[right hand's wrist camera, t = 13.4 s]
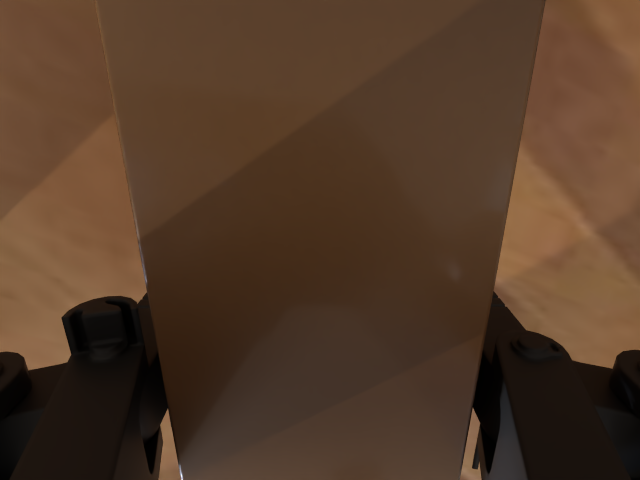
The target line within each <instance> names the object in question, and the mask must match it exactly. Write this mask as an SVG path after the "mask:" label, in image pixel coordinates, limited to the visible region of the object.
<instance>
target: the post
mask: <svg viewBox="0 0 640 480" xmlns="http://www.w3.org/2000/svg"><path fill="white" fill-rule="evenodd" d="M94 1H95V7H96V12H97V18H98V23H99V29H100V34H101V40H102V45H103V51H104V56H105V62H106V67H107V73H108V78H109V84H110V90H111V95H112V101H113V106H114V112H115V117H116V123H117V128H118V134H119V139H120V145H121V150H122V156H123V161H124V167H125V172H126V178H127V183H128V189H129V194H130V200H131V205H132V211H133V216H134V222H135V227H136V233H137V238H138V244H139V249H140V255H141V260H142V266H143V271H144V277H145V282H146V288H147V293H148V299H149V304H150V310H151V316H152V321H153V327H154V332H155V338H156V343H157V349H158V354H159V360H160V365H161V371H162V376H163V382H164V387H165V393H166V398H167V404H168V409H169V415H170V420H171V426H172V431H173V437H174V442H175V448H176V453H177V459H178V464H179V470H180V475H181V480H460V475H461V469H462V464H463V458H464V452H465V447H466V441H467V436H468V430H469V425H470V419H471V413H472V408H473V402H474V397H475V391H476V385H477V380H478V374H479V369H480V363H481V358H482V352H483V346H484V341H485V335H486V330H487V324H488V318H489V313H490V307H491V302H492V296H493V290H494V285H495V279H496V274H497V268H498V263H499V257H500V251H501V246H502V240H503V235H504V229H505V223H506V218H507V212H508V207H509V201H510V196H511V190H512V184H513V179H514V173H515V168H516V162H517V156H518V151H519V145H520V140H521V134H522V128H523V123H524V117H525V112H526V106H527V101H528V95H529V89H530V84H531V78H532V73H533V67H534V61H535V56H536V50H537V45H538V39H539V34H540V28H541V22H542V17H543V11H544V6H545V0H94Z"/></svg>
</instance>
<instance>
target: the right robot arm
mask: <svg viewBox="0 0 640 480" xmlns="http://www.w3.org/2000/svg"><path fill="white" fill-rule="evenodd" d="M62 322H63V325H64V329H65V333H66V336H67V340H68V344H69V347H70V351H71V356H70V358H69V360H68V362H67V363H63V364H59V365H54V366H49V367H44V368H39V369H34V370H29V371H28V368H27V365H26V362H25V359H24V357H22V356H21V355H20V354H18V353H13V352H0V480H158V479H159V470H160V462H161V454H162V446H163V439H162V433H161V427H160V424H161V422H162V420H163V417H164V415H165V413H166V411H167V409H168V404H167V398H166V393H165V387H164V382H163V376H162V371H161V365H160V360H159V354H158V349H157V343H156V338H155V332H154V327H153V321H152V316H151V310H150V304H149V299H148V293H146V294H145V295H144V297H143V300H140V301H139V303H138V304H137V302H136V301H134V300H133V299H131V298H128V297H123V296H107V297H102V298H97V299H93V300H90V301H87V302H84V303H82V304H79V305H77V306H76V307H74V308H72V309H70V310H69V311H68V312H67V313H66V314H65V315H64V316H63V317H62ZM473 408H474V411H475V413H476V415H477V417H478V419H479V421H480V427H479V433H478V438H477V443H476V449H475V454H474V459H473V466H472V468H473V469H478V465H479V461H480V469H481V478H482V480H640V350H629V351H623V352H622V353H620V354H619V355H617V357H616V360H615V363H614V366H613V369H611V368H606V367H601V366H595V365H590V364H585V363H580V362H576V361H572V360H571V358H570V356H569V354H568V353H567V351H566V350H565V349H564V348H563V346H561V345H560V344H559V343H557V342H556V341H554V340H553V339H551V338H549V337H546V336H544V335H541V334H539V333H535V332H531V331H526V330H525V328H524V327H523V326H522V325H521V324H520V322H519V321H518V320H517V319H516V318H515V316H514V315H513V314H512V313H511V312H510V310H509V309H508V308H507V307H505V304H504V303H503V302H502V301H501V299H500V298H498V296H497V295H496V293H495V292H494V291H493V296H492V302H491V307H490V313H489V318H488V324H487V330H486V335H485V341H484V346H483V352H482V358H481V363H480V369H479V374H478V380H477V385H476V391H475V397H474V402H473ZM168 410H169V409H168ZM169 416H170V415H169ZM170 422H171V420H170ZM171 427H172V426H171Z"/></svg>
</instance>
